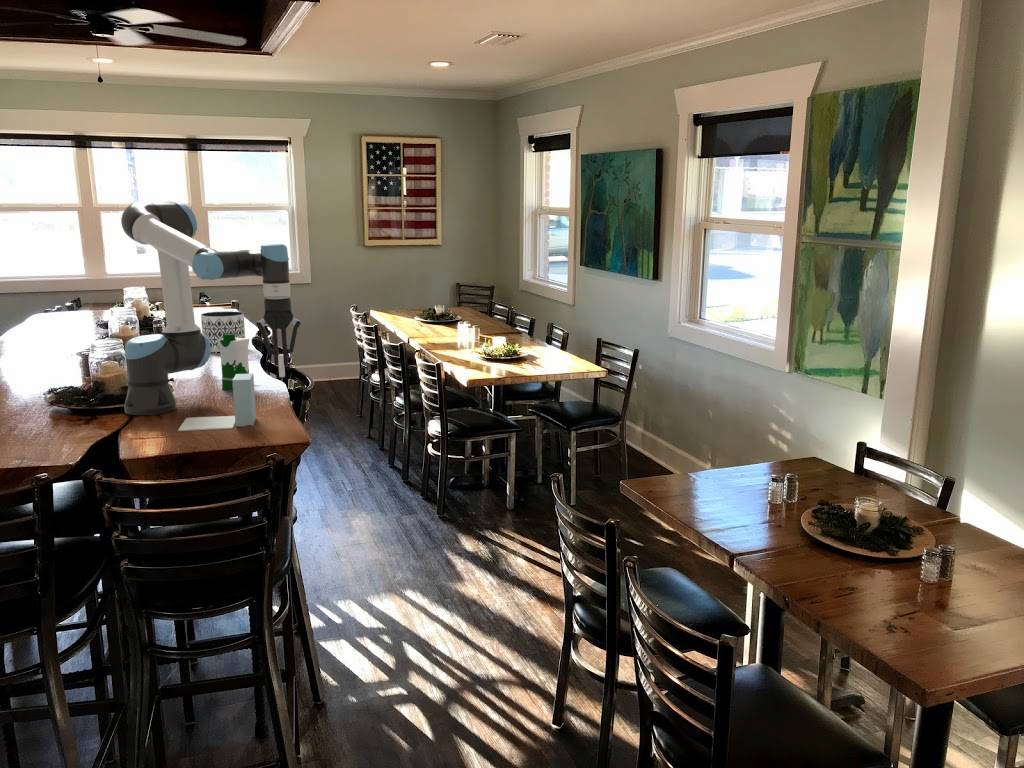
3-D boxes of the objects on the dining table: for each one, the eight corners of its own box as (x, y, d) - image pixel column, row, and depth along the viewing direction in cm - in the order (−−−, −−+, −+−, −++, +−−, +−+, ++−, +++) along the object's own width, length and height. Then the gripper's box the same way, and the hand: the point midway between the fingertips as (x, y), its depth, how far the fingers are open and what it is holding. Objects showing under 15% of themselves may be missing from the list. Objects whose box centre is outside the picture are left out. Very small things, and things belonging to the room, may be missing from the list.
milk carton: (218, 390, 284) (214, 334, 280) (236, 385, 292) (233, 330, 288) (237, 392, 280) (233, 336, 276) (255, 387, 288) (252, 332, 284)
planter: (237, 353, 356) (235, 316, 353) (197, 353, 356) (194, 316, 353) (251, 346, 374) (249, 311, 370) (212, 346, 374) (209, 311, 371)
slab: (235, 426, 237) (232, 380, 234) (239, 418, 246) (236, 374, 243) (253, 425, 238) (250, 379, 235) (256, 418, 247) (253, 373, 244)
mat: (177, 431, 231) (177, 429, 231) (186, 419, 245) (186, 417, 245) (232, 428, 235) (232, 427, 234) (238, 416, 248) (238, 415, 248)
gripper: (252, 299, 231) (258, 379, 236) (299, 298, 234) (304, 377, 239) (255, 296, 238) (260, 374, 243) (300, 295, 241) (305, 372, 246)
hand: (282, 376), depth 241 cm, fingers closed
